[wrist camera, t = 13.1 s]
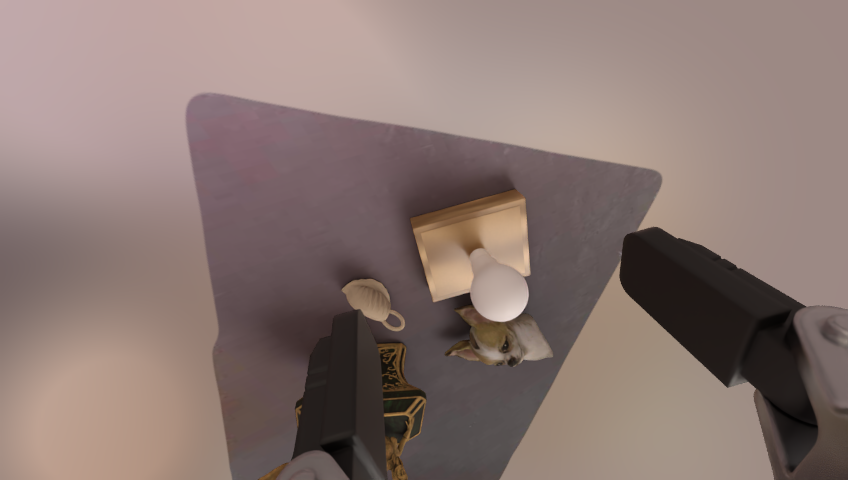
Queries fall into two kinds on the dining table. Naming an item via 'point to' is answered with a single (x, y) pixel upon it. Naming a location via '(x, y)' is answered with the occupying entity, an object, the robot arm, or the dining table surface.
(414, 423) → the decorative box
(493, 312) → the lightbulb
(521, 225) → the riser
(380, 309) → the decorative ornament
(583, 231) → the dining table surface
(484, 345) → the ceramic sculpture
